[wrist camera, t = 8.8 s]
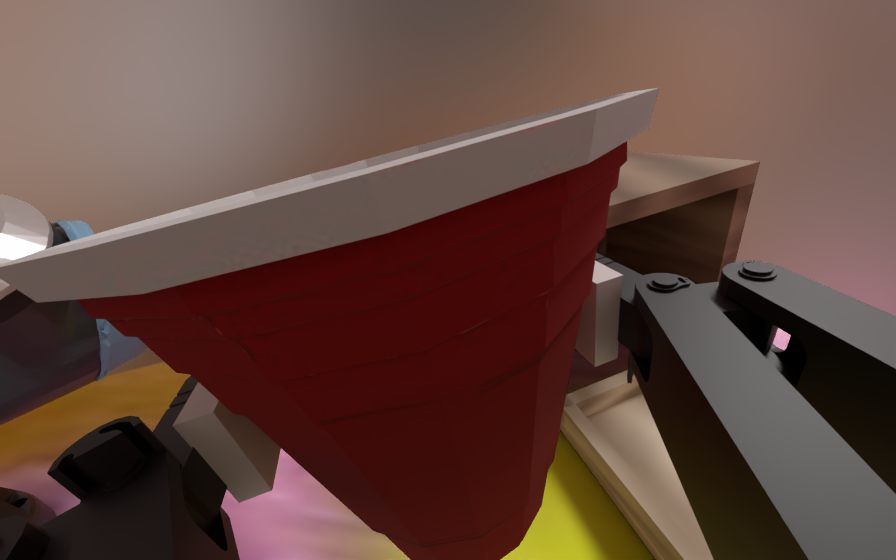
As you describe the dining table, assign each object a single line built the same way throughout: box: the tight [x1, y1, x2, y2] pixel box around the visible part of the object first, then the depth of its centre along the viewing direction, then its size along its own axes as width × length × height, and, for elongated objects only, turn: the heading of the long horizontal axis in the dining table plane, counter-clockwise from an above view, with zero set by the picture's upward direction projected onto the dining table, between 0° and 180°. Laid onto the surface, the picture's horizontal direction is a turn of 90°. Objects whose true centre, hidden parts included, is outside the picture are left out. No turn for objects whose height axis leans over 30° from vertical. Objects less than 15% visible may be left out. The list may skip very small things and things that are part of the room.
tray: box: [560, 370, 714, 560], centre depth 19 cm, size 20×20×4 cm
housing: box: [596, 151, 760, 284], centre depth 32 cm, size 20×14×17 cm
